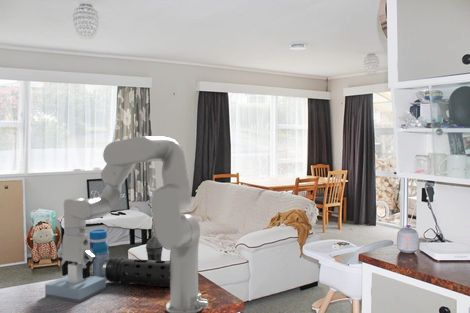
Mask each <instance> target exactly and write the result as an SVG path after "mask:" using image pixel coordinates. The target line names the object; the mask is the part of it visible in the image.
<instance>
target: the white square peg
mask: <svg viewBox="0 0 470 313" xmlns="http://www.w3.org/2000/svg"><path fill="white" fill-rule="evenodd" d="M83 268H84V267H83V265H82V264H81V263H78V262H71V263H69V265H68V274H67V275H68V283H72V284H78V283H80V282H83V281H84V279H83V274H82V269H83Z"/></svg>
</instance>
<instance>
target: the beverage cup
mask: <svg viewBox="0 0 470 313" xmlns="http://www.w3.org/2000/svg"><path fill="white" fill-rule="evenodd" d="M153 236H154V237H151V238H149V239H148V240H147V241H146V245H145V250H146V256H147V260H156V261H162V257H163V256H162V254H163V249H164V248H163V247H162V246H161V245H160V243H159V242H158V239H157V236H156V231H155V230H154V235H153Z"/></svg>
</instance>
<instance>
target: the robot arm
mask: <svg viewBox="0 0 470 313" xmlns="http://www.w3.org/2000/svg"><path fill="white" fill-rule="evenodd" d="M102 157H103V160H104V163H106V164H105V166H104V167H103V168H102V170H101V171H100V179H101V180H102V181H103V182H104V183H105V184H106V185H105V187H104V189H103V190H102V191H101V193H100V195H98V196H95V197H91V198H90V197H89V198H83V197H69V198H66V199H64V202H63V226H64V227H63V228H64V229H63V230H64V231H63V232H64V234H63V236H62V242H61V250H59V251H57V252H56V255H57V257H58V260H59V263H60V265H61V269H62V270H61V275H62V277H65V276H67V275H68V265H69V264H70V263H69V262H71V263H74V262H78V263H81V264H82V265H83V267H84V268H83V269H82V274H83V279H85V278H88V277H90V266H91V265H92V264H93V261H94V259H95V256H94V255H93V254H92V253H90V237H89V235H88V229H87V225H86V224H87V223H86V222H87V221H90V220H94V219H97V218H101V217H104V216H107V215H109V214H110V213H111V211H112V210H113V209H114V208H115V206H116V205H117V204H118V202H119V200H120V198H121V196H122V192H123V191H122V190H123V186H122V185H123V184H124V182H125V181H126V180H127V178H128V176H129V175H130V173H131V172H132V171H133V170H134V168H135V167H136V165H137V164H139V163H140V164H141V163H148V162H149V163H151V162H157V161H160V162H161V163H162V165H161V178H162V179H161V180H162V186H160V187H158V188H157V189H156V190H155V191H154V192H153V194H152V198H151V204H150V205H151V212H152V213H151V214H152V217H153V218H152V219H153V225H154V232H155V231H156V238H157V239H158V242H159V243H160V245H161V246H162V247H163V249H165V250H169V251H170V252H169V261H170V271H169V272H170V277H169V278H170V287H169V293H170V294H169V299H170V300H169V301H168V302H167V303H166V304H165V311H167V313H199V312H200V311H202V309H203V308H206V309H207V308H208V307H209V305H210V304H209V299H207V298H203V297H202V293H200V292H199V244H200V236H201V226H200V222H199V221H198V219H197V218H196V217H195V216H193V215H191V214H181V212H183V211H185V210H187V209H188V208H189V207H190V206H191V203H192V194H191V188H190V187H191V186H190V181H189V175H188V171H187V170H188V169H187V164H186V156H185V153H184V150H183V147H182V146H181V145H180V143H179V142H177V141H176V140H175V139H173V138H171V137H167V136H162V135H161V136H160V135H157V136H156V135H153V136H152V135H149V136H147V135H144V136H135V137H130V138H127V139H125V138H124V139H122V140H120V139H119V140H115V141H112V142H110V143H108V144H107V145H106V146H105V147H104V150H103V154H102Z"/></svg>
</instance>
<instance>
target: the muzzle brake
mask: <svg viewBox="0 0 470 313" xmlns="http://www.w3.org/2000/svg"><path fill="white" fill-rule="evenodd" d="M102 276H103V277H104V278H106V281H108V282H110V283H120V285H130V284H139V285H140V284H141V285H142V286H145V285H146V286H151V287H152V286H153V287H162V288H163V287H164V288H165V287H166V288H167V287H168V288H170V260H161V261H156V260H148V259H138V258H137V259H134V258H126V259H125V258H123V257H111V258H109V259H107V260H106V261H105V262H104V264H103V267H102Z"/></svg>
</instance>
